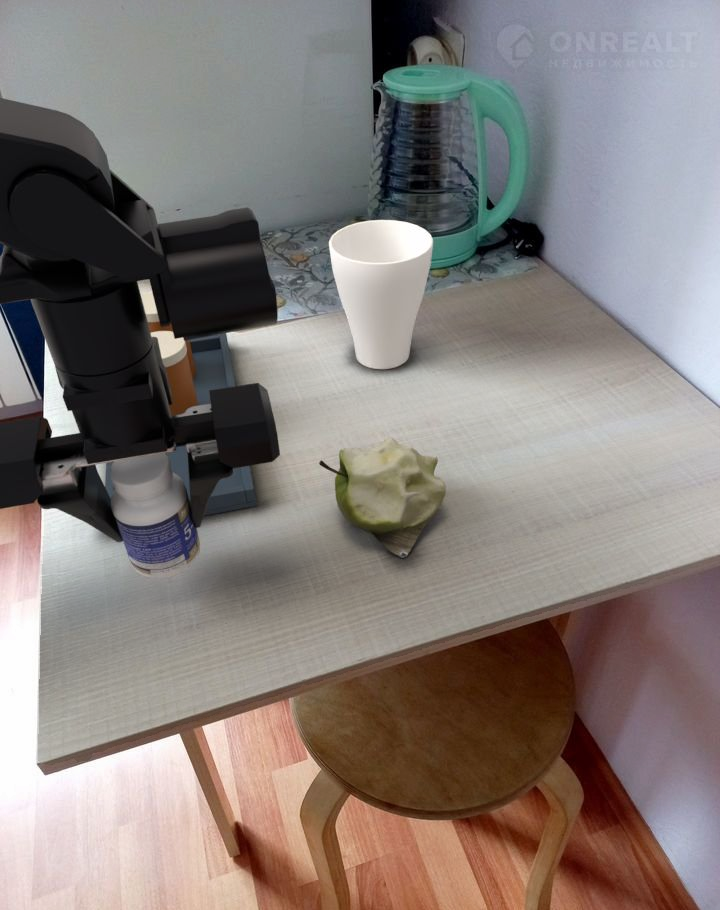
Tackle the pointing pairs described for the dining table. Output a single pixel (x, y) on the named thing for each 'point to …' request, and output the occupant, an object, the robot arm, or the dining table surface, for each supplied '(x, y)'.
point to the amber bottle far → (155, 326)
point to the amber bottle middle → (177, 371)
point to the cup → (381, 286)
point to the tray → (209, 376)
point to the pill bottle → (153, 516)
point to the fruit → (388, 492)
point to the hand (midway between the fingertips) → (159, 530)
